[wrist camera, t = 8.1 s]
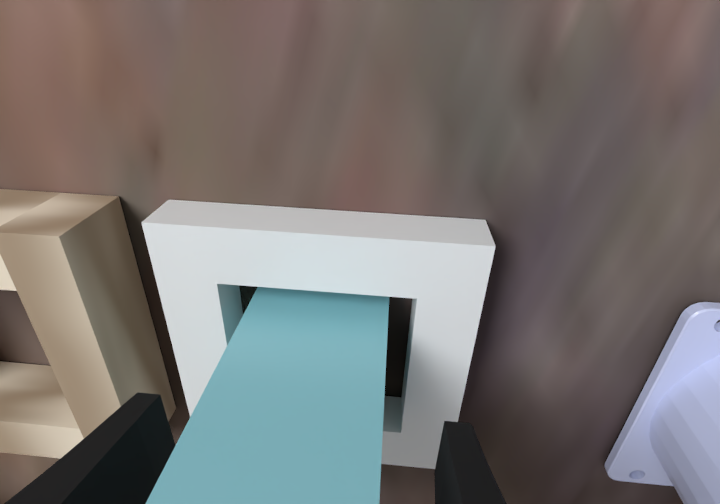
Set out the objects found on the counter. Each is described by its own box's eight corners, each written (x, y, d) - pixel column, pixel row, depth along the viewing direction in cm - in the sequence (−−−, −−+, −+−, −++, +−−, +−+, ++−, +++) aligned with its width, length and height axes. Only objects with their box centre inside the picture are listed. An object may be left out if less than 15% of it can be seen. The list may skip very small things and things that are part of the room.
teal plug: (389, 286, 13) (374, 594, 6) (382, 379, 15) (365, 690, 8) (262, 277, 13) (114, 563, 7) (271, 370, 15) (165, 664, 9)
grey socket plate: (485, 219, 12) (495, 246, 10) (443, 433, 16) (447, 470, 15) (168, 199, 12) (141, 222, 11) (213, 411, 17) (197, 445, 16)
